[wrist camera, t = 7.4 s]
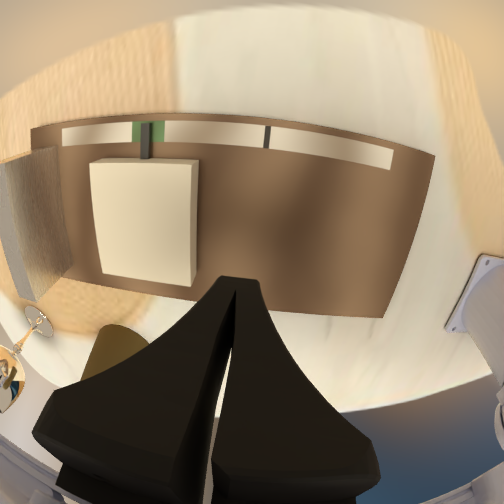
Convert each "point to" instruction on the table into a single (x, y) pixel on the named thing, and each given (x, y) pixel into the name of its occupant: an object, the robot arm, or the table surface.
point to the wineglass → (8, 365)
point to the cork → (112, 349)
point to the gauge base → (263, 206)
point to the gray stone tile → (33, 221)
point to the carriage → (146, 215)
